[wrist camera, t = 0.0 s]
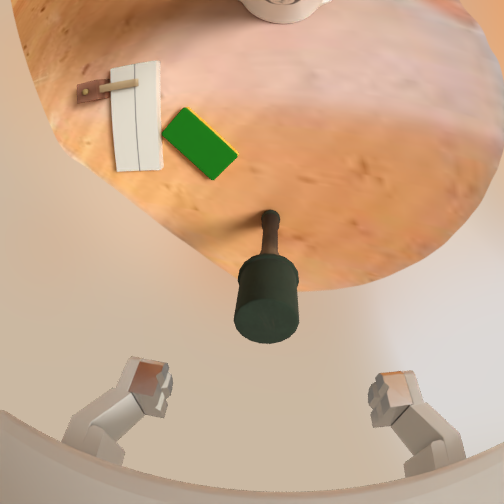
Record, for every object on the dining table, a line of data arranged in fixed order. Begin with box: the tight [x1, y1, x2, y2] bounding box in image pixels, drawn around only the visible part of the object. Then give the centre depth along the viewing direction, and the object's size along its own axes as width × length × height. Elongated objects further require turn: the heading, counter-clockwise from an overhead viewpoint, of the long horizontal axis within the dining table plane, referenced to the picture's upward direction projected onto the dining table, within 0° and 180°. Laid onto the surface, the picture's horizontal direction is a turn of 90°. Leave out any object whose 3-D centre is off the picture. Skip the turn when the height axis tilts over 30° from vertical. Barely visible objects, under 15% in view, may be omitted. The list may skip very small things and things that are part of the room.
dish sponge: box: [162, 107, 238, 180], centre depth 51 cm, size 7×14×2 cm, turn 45°
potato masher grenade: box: [234, 210, 299, 344], centre depth 46 cm, size 8×9×30 cm
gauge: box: [77, 79, 139, 103], centre depth 43 cm, size 4×13×6 cm, turn 88°
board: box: [111, 60, 164, 172], centre depth 48 cm, size 22×10×2 cm, turn 178°
